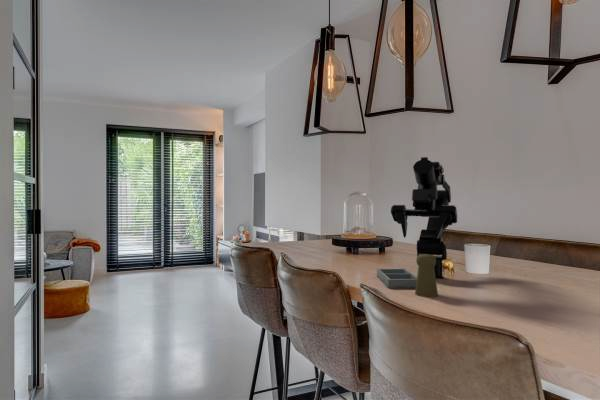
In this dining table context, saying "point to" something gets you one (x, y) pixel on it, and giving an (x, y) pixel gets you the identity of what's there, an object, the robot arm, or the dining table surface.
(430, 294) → the olive green upright block
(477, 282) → the dining table surface
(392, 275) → the grey divided tray
